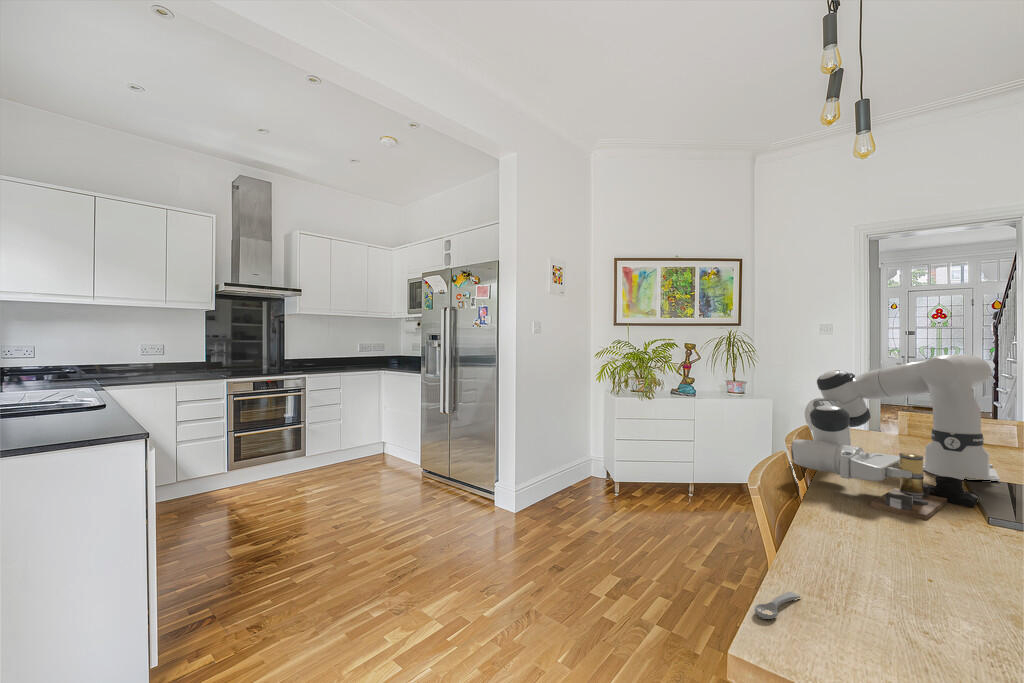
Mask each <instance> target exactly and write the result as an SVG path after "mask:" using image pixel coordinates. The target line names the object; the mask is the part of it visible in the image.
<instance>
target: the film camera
mask: <svg viewBox="0 0 1024 683" xmlns="http://www.w3.org/2000/svg"><path fill="white" fill-rule="evenodd" d="M925 484H926V485H930V495H932V496H937V497H942V498H947V504H949V505H955V506H960V507H966V508H971V509H973V508H975V506H976V504H978V503H977V500H978V498H980V497H979V494H977V493H975V492H971V491H966V490H965V489H964V488H963V480H960V479H957V478H953V477H945V476H939V475H938V476H935V485H933V484H928V483H925ZM978 501H979V500H978Z"/></svg>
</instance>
